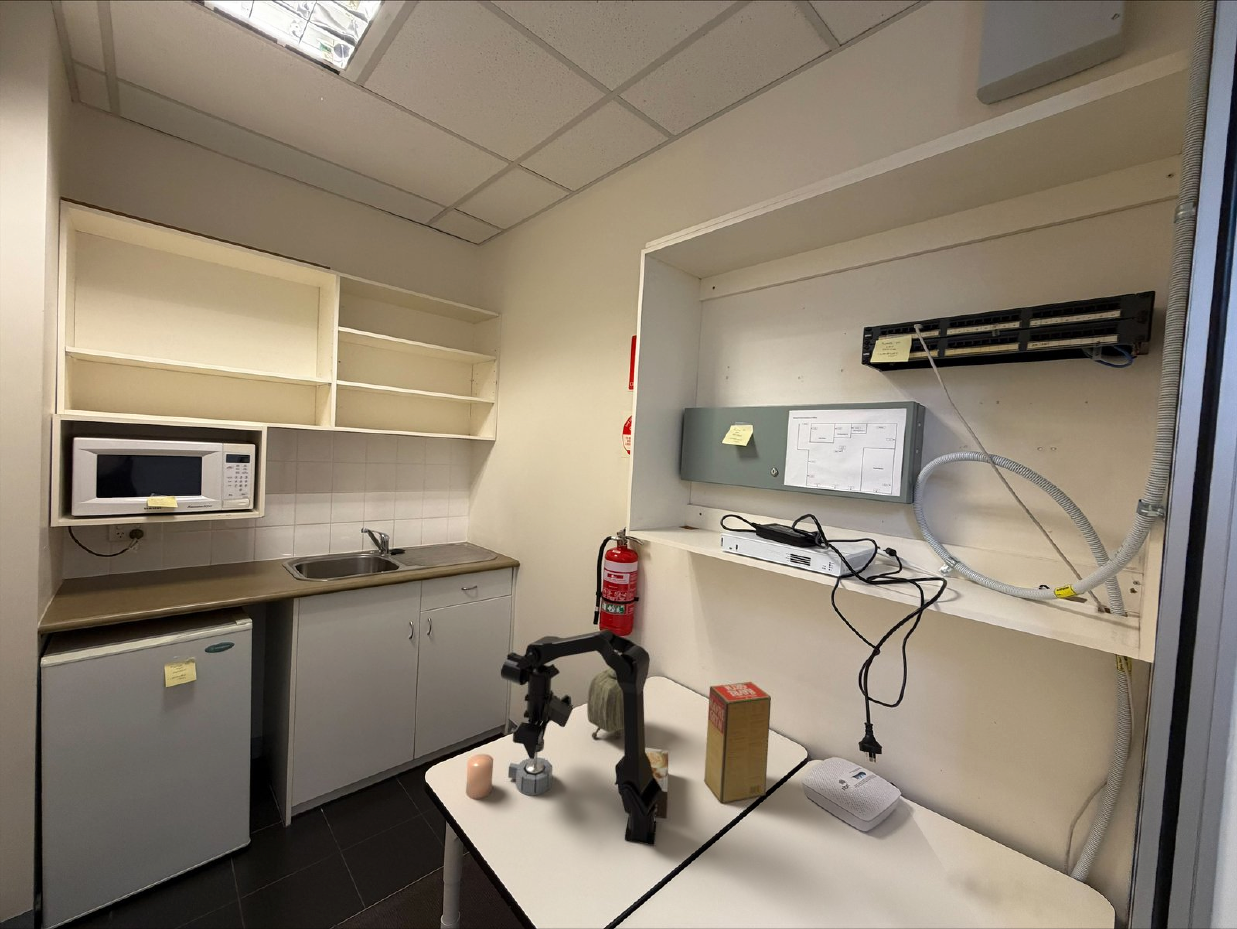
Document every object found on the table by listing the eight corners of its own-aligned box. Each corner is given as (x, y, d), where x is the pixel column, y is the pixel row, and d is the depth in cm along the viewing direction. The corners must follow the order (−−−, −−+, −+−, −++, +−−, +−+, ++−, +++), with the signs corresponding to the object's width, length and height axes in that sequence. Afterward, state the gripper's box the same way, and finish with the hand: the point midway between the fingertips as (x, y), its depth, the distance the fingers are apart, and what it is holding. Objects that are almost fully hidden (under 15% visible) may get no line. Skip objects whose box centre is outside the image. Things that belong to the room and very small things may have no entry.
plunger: (540, 775, 117) (541, 747, 117) (523, 772, 118) (524, 745, 118) (545, 764, 122) (547, 737, 122) (529, 761, 122) (530, 735, 122)
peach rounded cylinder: (485, 800, 113) (487, 771, 113) (461, 796, 114) (463, 767, 114) (495, 784, 119) (497, 756, 119) (472, 780, 120) (474, 752, 120)
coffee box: (633, 769, 128) (626, 813, 112) (635, 745, 128) (628, 785, 112) (668, 774, 127) (666, 819, 111) (669, 750, 126) (668, 791, 111)
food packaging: (746, 771, 129) (752, 680, 129) (767, 795, 120) (773, 697, 120) (702, 779, 125) (708, 685, 125) (720, 805, 116) (727, 703, 116)
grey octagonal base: (545, 798, 115) (546, 782, 115) (502, 790, 117) (503, 775, 117) (555, 774, 124) (556, 760, 124) (515, 767, 125) (516, 753, 125)
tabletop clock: (617, 719, 151) (622, 641, 151) (640, 731, 145) (645, 650, 145) (585, 738, 140) (590, 653, 140) (608, 752, 134) (613, 663, 134)
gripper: (560, 713, 109) (556, 781, 109) (579, 677, 128) (575, 735, 128) (513, 707, 111) (509, 773, 111) (539, 671, 129) (535, 729, 130)
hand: (535, 751), depth 120 cm, fingers open, 5 cm apart
